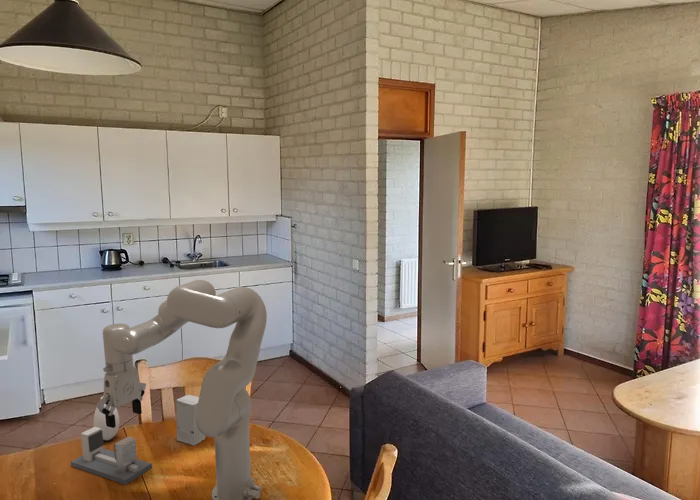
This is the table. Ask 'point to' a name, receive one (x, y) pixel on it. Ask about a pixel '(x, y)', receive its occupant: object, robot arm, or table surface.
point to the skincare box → (188, 420)
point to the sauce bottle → (101, 423)
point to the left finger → (125, 453)
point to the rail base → (105, 459)
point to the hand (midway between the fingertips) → (124, 419)
